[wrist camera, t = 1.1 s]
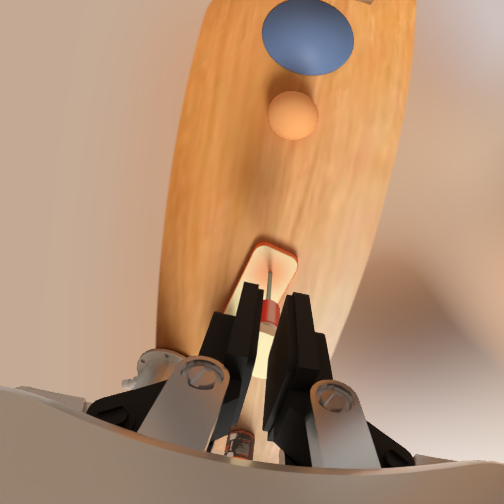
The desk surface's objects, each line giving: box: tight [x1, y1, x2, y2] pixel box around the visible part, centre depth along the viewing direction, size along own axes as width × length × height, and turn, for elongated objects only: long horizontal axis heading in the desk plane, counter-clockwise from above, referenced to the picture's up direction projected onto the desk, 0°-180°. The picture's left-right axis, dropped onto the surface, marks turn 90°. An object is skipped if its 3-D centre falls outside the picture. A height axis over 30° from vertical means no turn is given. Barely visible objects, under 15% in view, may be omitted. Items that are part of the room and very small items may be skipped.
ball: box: [267, 91, 318, 140], centre depth 34 cm, size 6×6×6 cm
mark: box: [262, 0, 354, 75], centre depth 32 cm, size 12×12×1 cm
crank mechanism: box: [223, 242, 298, 379], centre depth 38 cm, size 25×7×19 cm, turn 156°
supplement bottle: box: [224, 430, 255, 461], centre depth 54 cm, size 6×6×11 cm
